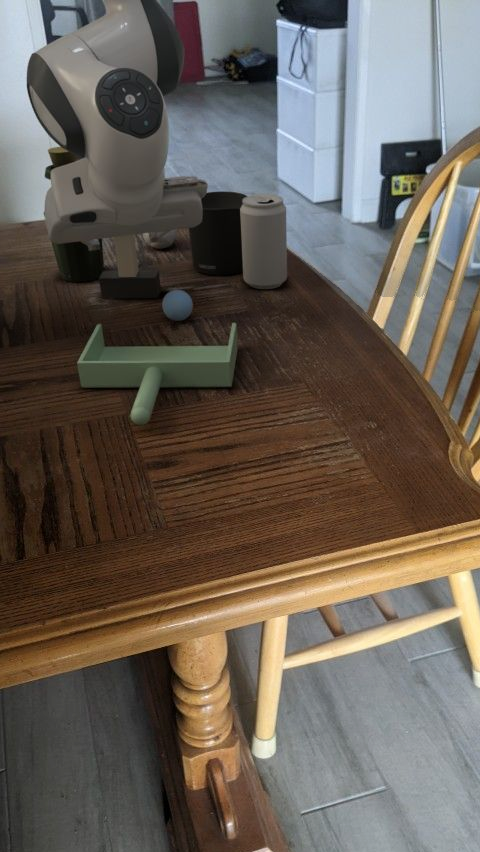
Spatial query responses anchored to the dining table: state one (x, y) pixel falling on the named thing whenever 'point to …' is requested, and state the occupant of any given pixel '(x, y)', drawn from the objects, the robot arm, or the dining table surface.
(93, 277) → the potion bottle
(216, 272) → the pen holder
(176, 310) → the foam ball
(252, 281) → the beverage can
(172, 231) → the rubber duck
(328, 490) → the dining table surface
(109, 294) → the brush
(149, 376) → the dustpan
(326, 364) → the dining table surface
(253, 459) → the dining table surface
